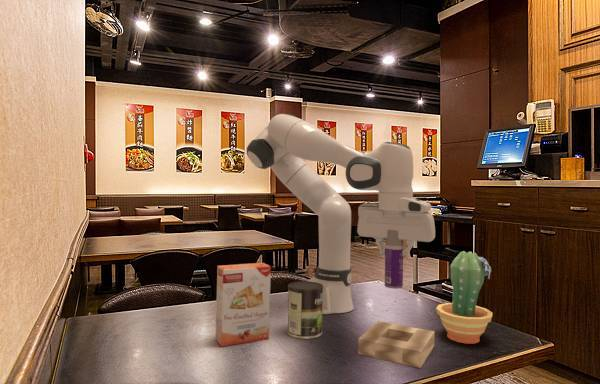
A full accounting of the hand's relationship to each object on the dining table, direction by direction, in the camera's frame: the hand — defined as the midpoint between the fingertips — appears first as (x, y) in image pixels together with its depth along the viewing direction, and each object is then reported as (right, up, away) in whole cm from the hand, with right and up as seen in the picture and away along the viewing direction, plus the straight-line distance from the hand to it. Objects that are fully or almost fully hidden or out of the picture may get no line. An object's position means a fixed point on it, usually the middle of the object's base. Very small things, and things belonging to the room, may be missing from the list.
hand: (394, 255), depth 110 cm
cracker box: (-41, -25, +6) cm, 48 cm away
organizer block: (+1, -25, +1) cm, 25 cm away
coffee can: (-24, -25, +12) cm, 36 cm away
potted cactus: (+22, -26, +11) cm, 36 cm away
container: (0, -8, 0) cm, 8 cm away
